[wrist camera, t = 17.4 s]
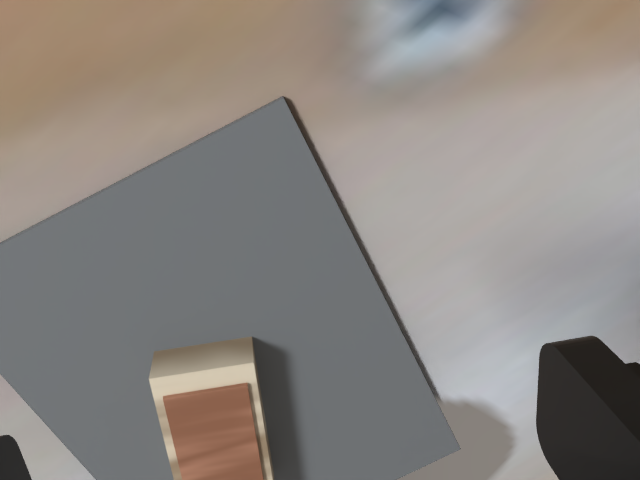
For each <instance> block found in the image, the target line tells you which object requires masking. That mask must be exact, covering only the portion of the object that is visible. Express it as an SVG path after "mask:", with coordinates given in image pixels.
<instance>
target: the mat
mask: <svg viewBox="0 0 640 480" xmlns="http://www.w3.org/2000/svg"><path fill="white" fill-rule="evenodd" d="M245 337H252V340H253V347H254V353H255V359H256V365H257V372H258V378H259V384H260V390H261V397H262V403H263V409H264V415H265V422H266V428H267V434H268V441H269V447H270V453H271V459H272V466H273V472H274V480H397V479H398V478H401V477H403V476H405V475H407V474H409V473H411V472H413V471H415V470H418V469H420V468H422V467H424V466H426V465H428V464H430V463H432V462H435V461H437V460H438V459H440V458H443V457H445V456H447V455H449V454H451V453H453V452H456V451H458V450H460V447H459V445H458V443H457V441H456V439H455V437H454V435H453V433H452V431H451V429H450V427H449V425H448V423H447V421H446V419H445V417H444V415H443V413H442V411H441V409H440V407H439V405H438V403H437V401H436V399H435V397H434V395H433V393H432V391H431V389H430V387H429V385H428V383H427V381H426V379H425V377H424V375H423V373H422V371H421V369H420V367H419V365H418V363H417V361H416V359H415V357H414V355H413V353H412V351H411V349H410V347H409V345H408V343H407V341H406V339H405V337H404V335H403V333H402V331H401V329H400V327H399V325H398V324H397V322H396V320H395V318H394V316H393V314H392V312H391V310H390V308H389V306H388V304H387V302H386V300H385V298H384V296H383V294H382V292H381V290H380V288H379V286H378V284H377V282H376V280H375V278H374V276H373V274H372V272H371V270H370V268H369V266H368V264H367V262H366V260H365V258H364V256H363V254H362V252H361V250H360V248H359V246H358V244H357V242H356V240H355V238H354V236H353V234H352V232H351V230H350V228H349V226H348V224H347V222H346V220H345V218H344V216H343V214H342V212H341V211H340V209H339V207H338V205H337V203H336V201H335V199H334V197H333V195H332V193H331V191H330V189H329V187H328V185H327V183H326V181H325V179H324V177H323V175H322V173H321V171H320V169H319V167H318V165H317V163H316V161H315V159H314V157H313V155H312V153H311V151H310V149H309V147H308V145H307V143H306V141H305V139H304V137H303V135H302V133H301V131H300V129H299V127H298V125H297V123H296V121H295V119H294V117H293V115H292V113H291V111H290V109H289V107H288V105H287V103H286V101H285V99H284V98H283V96H282V97H280V98H278V99H276V100H274V101H272V102H270V103H269V104H267V105H265V106H263V107H261V108H259V109H257V110H255V111H253V112H251V113H249V114H247V115H245V116H243V117H242V118H240V119H238V120H236V121H234V122H232V123H230V124H228V125H226V126H224V127H222V128H220V129H218V130H216V131H215V132H213V133H211V134H209V135H207V136H205V137H203V138H201V139H199V140H197V141H195V142H193V143H191V144H189V145H188V146H186V147H184V148H182V149H180V150H178V151H176V152H174V153H172V154H170V155H168V156H166V157H164V158H163V159H161V160H159V161H157V162H155V163H153V164H151V165H149V166H147V167H145V168H143V169H141V170H139V171H137V172H136V173H134V174H132V175H130V176H128V177H126V178H124V179H122V180H120V181H118V182H116V183H114V184H112V185H110V186H109V187H107V188H105V189H103V190H101V191H99V192H97V193H95V194H93V195H91V196H89V197H87V198H85V199H83V200H82V201H80V202H78V203H76V204H74V205H72V206H70V207H68V208H66V209H64V210H62V211H60V212H58V213H57V214H55V215H53V216H51V217H49V218H47V219H45V220H43V221H41V222H39V223H37V224H35V225H33V226H31V227H30V228H28V229H26V230H24V231H22V232H20V233H18V234H16V235H14V236H12V237H10V238H8V239H6V240H4V241H3V242H1V243H0V374H1V375H2V376H3V378H4V379H5V380H6V381H7V382H8V383H9V384H10V385H11V386H12V387H13V389H14V390H15V391H16V392H17V393H18V394H19V395H20V396H21V397H22V398H23V400H24V401H25V402H26V403H27V404H28V405H29V406H30V407H31V408H32V410H33V411H34V412H35V413H36V414H37V415H38V416H39V417H40V418H41V419H42V421H43V422H44V423H45V424H46V425H47V426H48V427H49V428H50V429H51V431H52V432H53V433H54V434H55V435H56V436H57V437H58V438H59V439H60V440H61V442H62V443H63V444H64V445H65V446H66V447H67V448H68V449H69V450H70V452H71V453H72V454H73V455H74V456H75V457H76V458H77V459H78V460H79V461H80V463H81V464H82V465H83V466H84V467H85V468H86V469H87V470H88V471H89V473H90V474H91V475H92V476H93V477H94V478H95V479H96V480H174V478H173V474H172V470H171V466H170V462H169V458H168V454H167V450H166V446H165V442H164V438H163V434H162V430H161V426H160V422H159V418H158V414H157V410H156V406H155V402H154V398H153V394H152V390H151V386H150V382H149V375H150V370H151V365H152V360H153V355H154V351H160V350H167V349H173V348H180V347H187V346H193V345H200V344H206V343H213V342H219V341H226V340H232V339H239V338H245Z"/></svg>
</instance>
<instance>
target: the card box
mask: <svg viewBox="0 0 640 480" xmlns="http://www.w3.org/2000/svg"><path fill="white" fill-rule="evenodd" d="M149 382H150V386H151V390H152V394H153V398H154V402H155V406H156V410H157V414H158V418H159V422H160V426H161V430H162V434H163V438H164V442H165V446H166V450H167V454H168V458H169V462H170V466H171V470H172V474H173V478H174V480H274V472H273V466H272V459H271V453H270V447H269V441H268V434H267V428H266V422H265V415H264V409H263V403H262V397H261V390H260V384H259V378H258V372H257V365H256V359H255V353H254V347H253V340H252V337H245V338H239V339H232V340H226V341H219V342H213V343H206V344H200V345H193V346H187V347H180V348H173V349H167V350H160V351H154V355H153V360H152V365H151V370H150V375H149Z"/></svg>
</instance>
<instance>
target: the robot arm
mask: <svg viewBox="0 0 640 480" xmlns="http://www.w3.org/2000/svg"><path fill="white" fill-rule="evenodd" d="M536 426H537V434H538V438H539V442H540V445H541V448H542V451H543V453H544V456H545V458H546V460H547V461H548V463H549V465H550V466H551V468H552V469H553V471H554V472H555V474H556V475H557V477H558V478H559V480H640V364H638V363H636V362H634V363H628V364H625V363H624V362H623V361H622V360H621V359H620V358H619V357H618V356H617V355H616V354H615V353H613V352H612V351H611V350H610V349H609V348H608V347H607V346H606V345H605V344H604V343H603V342H602V341H601V340H600V339H599V338H597V337H595V336H587V337H581V338H575V339H569V340H564V341H558V342H552V343H546V344H544V345H543V346H542V348H541V351H540V357H539V376H538V395H537V415H536ZM0 480H32V479H31V477H30V474H29V472H28V469H27V466H26V464H25V461H24V459H23V456H22V454H21V451H20V449H19V446H18V444H17V442H16V441H15V439H14V438H13V437H11V436H10V435H3V436H0Z"/></svg>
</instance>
